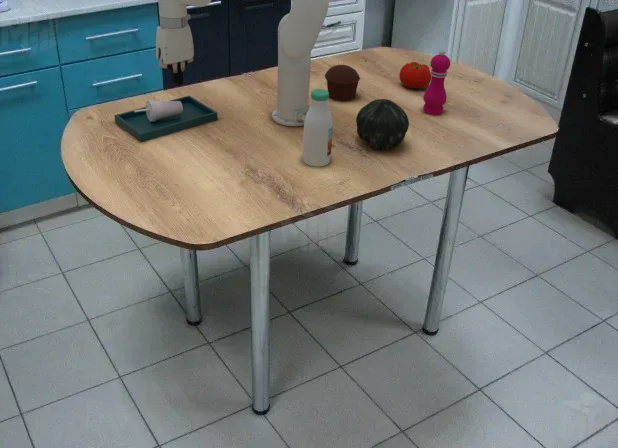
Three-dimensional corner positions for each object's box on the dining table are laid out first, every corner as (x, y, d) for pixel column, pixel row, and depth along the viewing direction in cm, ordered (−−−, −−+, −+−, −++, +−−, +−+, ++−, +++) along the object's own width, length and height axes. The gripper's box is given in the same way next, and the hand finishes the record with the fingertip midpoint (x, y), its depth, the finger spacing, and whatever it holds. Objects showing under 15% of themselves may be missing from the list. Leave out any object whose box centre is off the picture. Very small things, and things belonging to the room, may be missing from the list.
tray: (217, 119, 202) (217, 112, 201) (141, 142, 188) (140, 134, 187) (189, 102, 212) (189, 95, 210) (115, 122, 198) (114, 115, 196)
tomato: (431, 92, 227) (435, 71, 223) (399, 91, 227) (402, 69, 223) (427, 80, 236) (430, 60, 232) (396, 79, 236) (399, 58, 232)
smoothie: (180, 92, 198) (134, 98, 192) (186, 112, 198) (140, 118, 191) (174, 102, 204) (129, 107, 197) (180, 121, 203) (135, 127, 196)
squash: (384, 108, 201) (367, 81, 188) (424, 127, 193) (408, 99, 180) (357, 146, 200) (338, 121, 188) (396, 166, 192) (378, 142, 179)
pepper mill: (419, 106, 217) (428, 46, 206) (441, 106, 217) (451, 46, 206) (424, 115, 211) (433, 54, 200) (446, 116, 211) (457, 54, 200)
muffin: (364, 95, 223) (367, 66, 217) (348, 105, 215) (350, 76, 209) (334, 86, 228) (336, 58, 222) (316, 96, 220) (318, 67, 214)
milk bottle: (321, 170, 179) (325, 100, 168) (296, 162, 182) (299, 92, 171) (335, 159, 184) (340, 90, 173) (311, 151, 188) (315, 83, 176)
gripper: (189, 13, 193) (192, 74, 203) (142, 22, 184) (148, 85, 195) (203, 20, 188) (206, 82, 198) (156, 29, 180) (161, 93, 190)
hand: (177, 83), depth 196 cm, fingers closed
